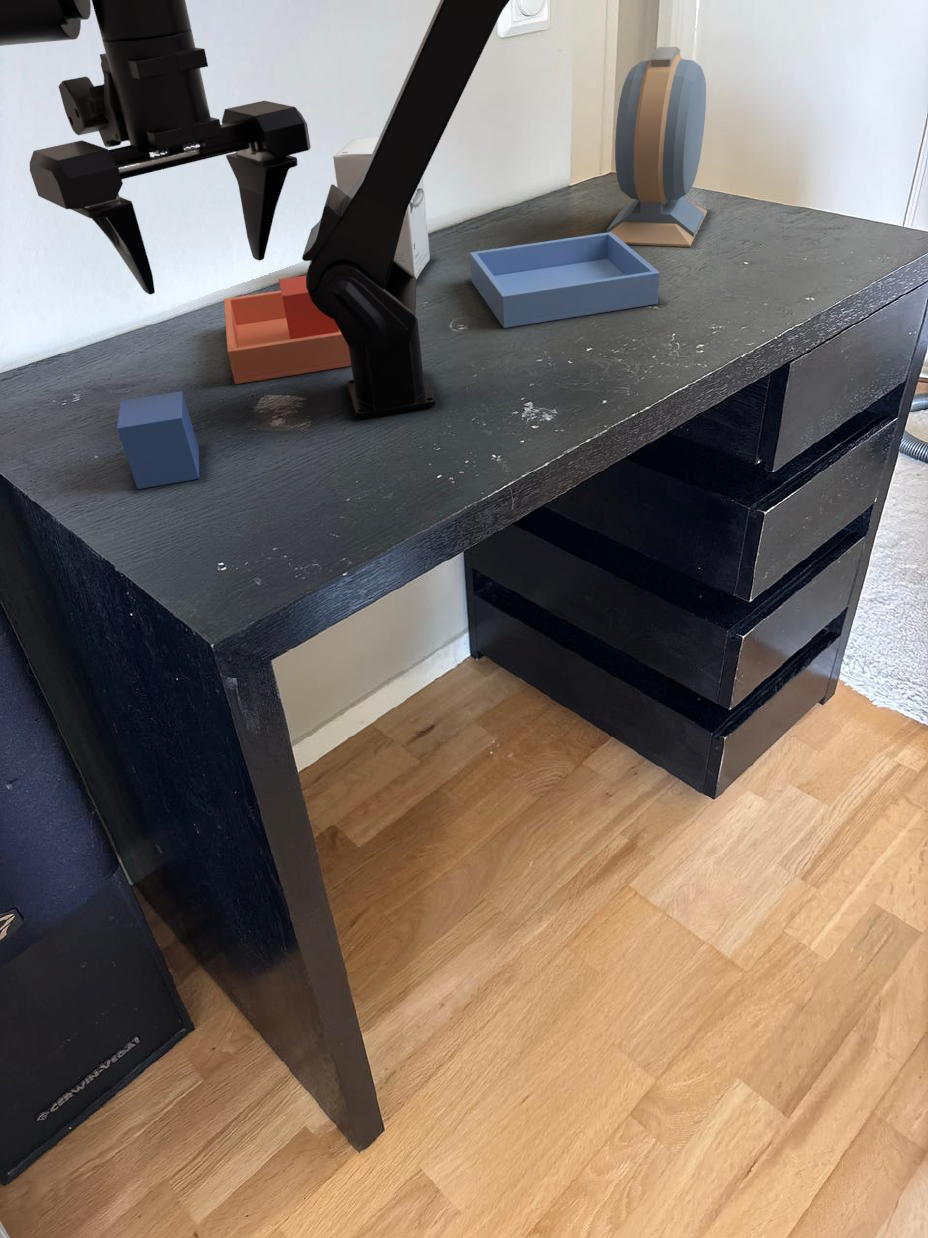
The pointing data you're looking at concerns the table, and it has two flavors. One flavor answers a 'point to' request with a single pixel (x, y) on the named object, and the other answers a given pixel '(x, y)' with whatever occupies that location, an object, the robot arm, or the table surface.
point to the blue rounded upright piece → (660, 150)
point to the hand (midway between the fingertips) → (205, 275)
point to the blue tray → (563, 279)
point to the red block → (303, 310)
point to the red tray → (275, 341)
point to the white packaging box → (414, 227)
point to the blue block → (158, 439)
